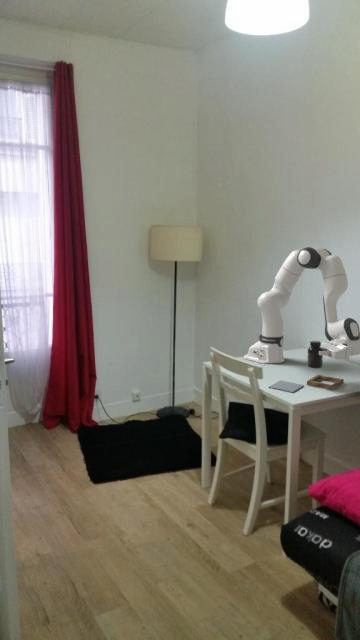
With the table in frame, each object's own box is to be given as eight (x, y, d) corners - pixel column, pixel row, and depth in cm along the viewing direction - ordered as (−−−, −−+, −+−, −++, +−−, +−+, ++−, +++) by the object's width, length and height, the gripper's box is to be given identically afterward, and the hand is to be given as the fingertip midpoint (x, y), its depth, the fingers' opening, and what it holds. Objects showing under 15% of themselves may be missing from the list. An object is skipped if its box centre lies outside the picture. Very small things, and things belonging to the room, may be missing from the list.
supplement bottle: (324, 368, 247) (325, 342, 245) (310, 368, 246) (310, 343, 244) (319, 364, 253) (320, 340, 252) (305, 365, 253) (305, 340, 251)
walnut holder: (306, 385, 252) (307, 381, 251) (317, 378, 262) (317, 374, 262) (333, 390, 244) (333, 386, 244) (343, 383, 254) (343, 379, 254)
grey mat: (268, 387, 248) (268, 386, 247) (280, 381, 257) (280, 380, 257) (292, 393, 241) (292, 391, 240) (303, 386, 250) (303, 385, 250)
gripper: (323, 337, 262) (300, 339, 257) (352, 346, 244) (328, 349, 239) (322, 349, 264) (299, 352, 258) (351, 360, 245) (327, 363, 240)
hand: (313, 351), depth 248 cm, fingers closed on supplement bottle, 6 cm apart
